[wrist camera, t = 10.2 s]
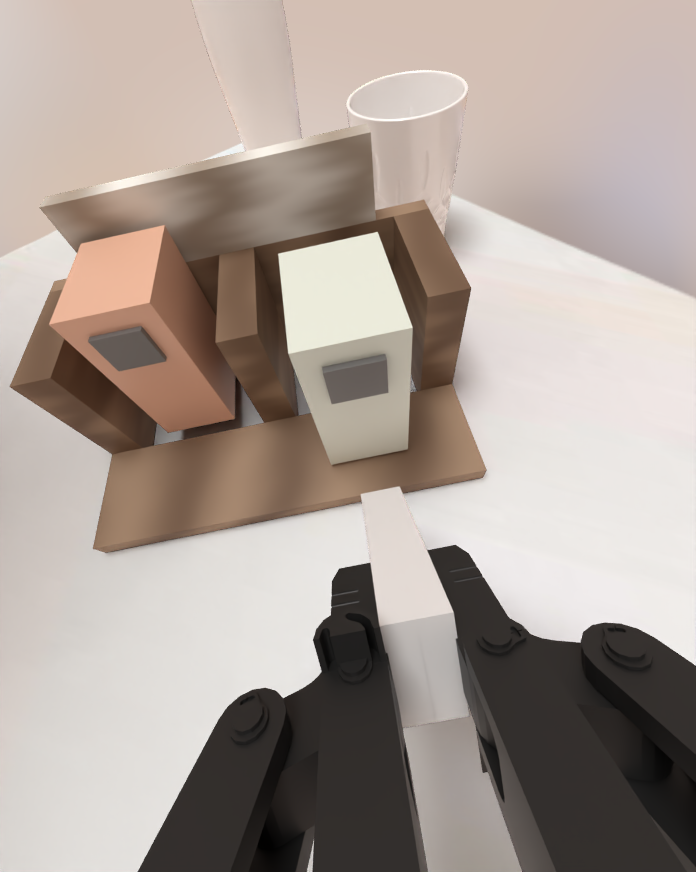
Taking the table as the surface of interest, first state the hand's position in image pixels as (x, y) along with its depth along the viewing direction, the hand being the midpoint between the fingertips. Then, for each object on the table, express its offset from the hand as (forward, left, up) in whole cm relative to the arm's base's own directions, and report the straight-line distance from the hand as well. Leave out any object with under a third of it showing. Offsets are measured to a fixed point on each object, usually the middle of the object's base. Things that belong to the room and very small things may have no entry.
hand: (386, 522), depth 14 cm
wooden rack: (-7, +8, -6) cm, 12 cm away
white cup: (+2, +27, -6) cm, 28 cm away
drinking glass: (-10, +38, -6) cm, 40 cm away
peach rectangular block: (-12, +11, -4) cm, 17 cm away
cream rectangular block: (-1, +8, -4) cm, 9 cm away
